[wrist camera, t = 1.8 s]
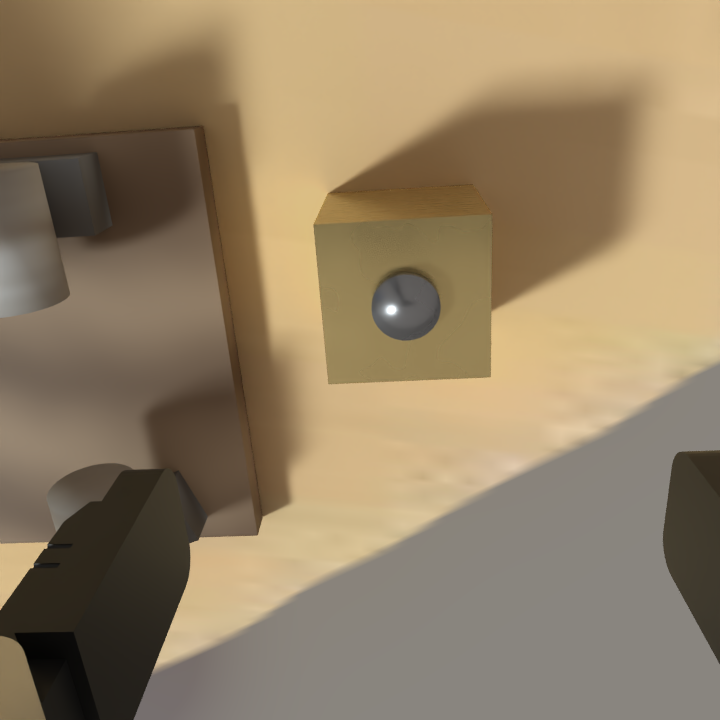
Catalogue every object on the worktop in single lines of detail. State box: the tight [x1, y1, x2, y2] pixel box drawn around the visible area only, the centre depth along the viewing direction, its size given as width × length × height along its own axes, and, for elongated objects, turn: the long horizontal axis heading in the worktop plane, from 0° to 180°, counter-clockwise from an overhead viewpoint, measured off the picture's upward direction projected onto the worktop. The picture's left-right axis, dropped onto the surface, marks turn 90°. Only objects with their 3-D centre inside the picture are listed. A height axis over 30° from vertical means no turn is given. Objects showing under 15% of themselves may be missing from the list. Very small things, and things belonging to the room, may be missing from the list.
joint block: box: [314, 185, 492, 384], centre depth 22 cm, size 5×5×5 cm
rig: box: [0, 126, 262, 543], centre depth 24 cm, size 16×11×6 cm, turn 4°
